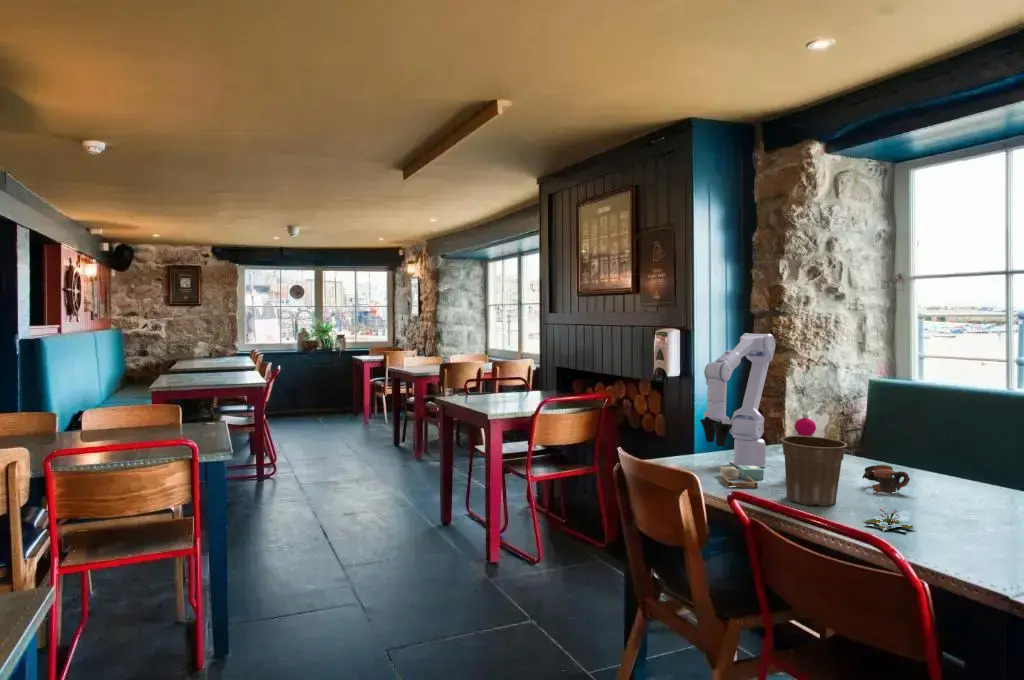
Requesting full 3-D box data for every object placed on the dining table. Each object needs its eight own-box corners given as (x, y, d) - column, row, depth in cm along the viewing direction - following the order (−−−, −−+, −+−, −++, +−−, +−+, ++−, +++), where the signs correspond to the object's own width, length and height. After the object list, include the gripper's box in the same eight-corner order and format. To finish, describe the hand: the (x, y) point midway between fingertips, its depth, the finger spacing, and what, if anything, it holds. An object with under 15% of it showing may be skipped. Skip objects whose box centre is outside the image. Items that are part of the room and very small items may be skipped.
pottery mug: (862, 493, 195) (857, 465, 199) (870, 502, 202) (866, 474, 205) (909, 489, 188) (904, 460, 192) (916, 498, 195) (911, 469, 199)
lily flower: (912, 540, 155) (913, 520, 155) (854, 529, 163) (855, 509, 162) (923, 527, 164) (923, 508, 164) (867, 517, 172) (868, 499, 172)
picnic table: (748, 481, 206) (748, 476, 206) (757, 488, 198) (757, 483, 198) (720, 480, 207) (721, 475, 207) (729, 487, 198) (729, 482, 198)
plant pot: (854, 501, 185) (856, 441, 185) (831, 513, 174) (832, 449, 173) (794, 489, 197) (796, 433, 196) (769, 500, 186) (770, 440, 185)
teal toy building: (756, 475, 214) (756, 465, 214) (763, 479, 208) (763, 469, 208) (737, 474, 214) (737, 464, 214) (743, 479, 208) (743, 469, 208)
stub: (733, 476, 214) (733, 466, 213) (738, 480, 209) (738, 470, 208) (720, 476, 214) (720, 466, 213) (725, 480, 209) (725, 469, 208)
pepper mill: (791, 480, 208) (792, 414, 207) (791, 474, 215) (792, 411, 214) (817, 482, 205) (819, 415, 205) (816, 477, 212) (818, 412, 211)
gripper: (695, 397, 222) (693, 439, 222) (714, 403, 208) (713, 447, 208) (715, 398, 223) (714, 440, 223) (736, 403, 209) (735, 448, 209)
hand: (715, 443), depth 216 cm, fingers open, 7 cm apart
